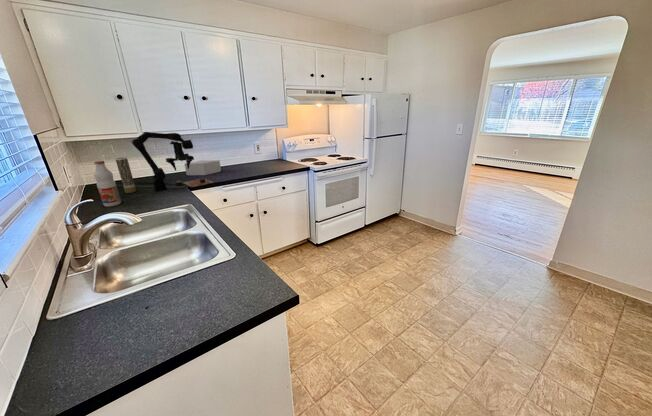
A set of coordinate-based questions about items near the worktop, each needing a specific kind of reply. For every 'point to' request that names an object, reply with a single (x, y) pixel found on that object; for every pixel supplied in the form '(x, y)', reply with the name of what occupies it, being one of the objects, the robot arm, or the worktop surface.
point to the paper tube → (126, 175)
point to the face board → (197, 183)
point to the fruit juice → (106, 185)
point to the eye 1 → (178, 183)
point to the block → (203, 167)
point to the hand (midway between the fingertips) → (182, 169)
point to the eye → (202, 180)
